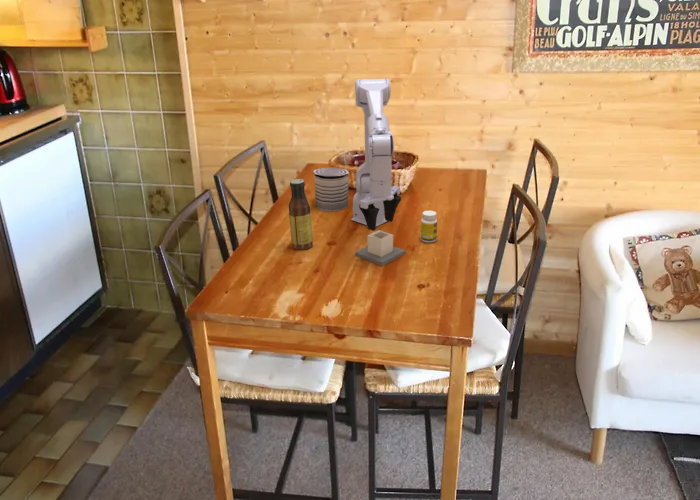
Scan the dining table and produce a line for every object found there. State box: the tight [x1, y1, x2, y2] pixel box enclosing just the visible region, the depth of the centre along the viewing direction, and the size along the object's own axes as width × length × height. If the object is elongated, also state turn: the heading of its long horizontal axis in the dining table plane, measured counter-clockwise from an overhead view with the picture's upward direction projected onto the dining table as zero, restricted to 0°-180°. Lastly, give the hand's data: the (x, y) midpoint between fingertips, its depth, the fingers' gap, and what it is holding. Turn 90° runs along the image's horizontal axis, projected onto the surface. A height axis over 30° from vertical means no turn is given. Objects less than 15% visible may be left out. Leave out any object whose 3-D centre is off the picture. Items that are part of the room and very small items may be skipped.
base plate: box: [354, 245, 406, 267], centre depth 199 cm, size 10×10×4 cm
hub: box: [367, 229, 394, 257], centre depth 198 cm, size 5×5×5 cm
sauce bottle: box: [288, 178, 314, 251], centre depth 201 cm, size 7×6×20 cm
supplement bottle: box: [419, 210, 438, 243], centre depth 206 cm, size 5×5×8 cm
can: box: [313, 167, 350, 212], centre depth 231 cm, size 11×11×12 cm
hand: (380, 225), depth 196 cm, fingers open, 7 cm apart
